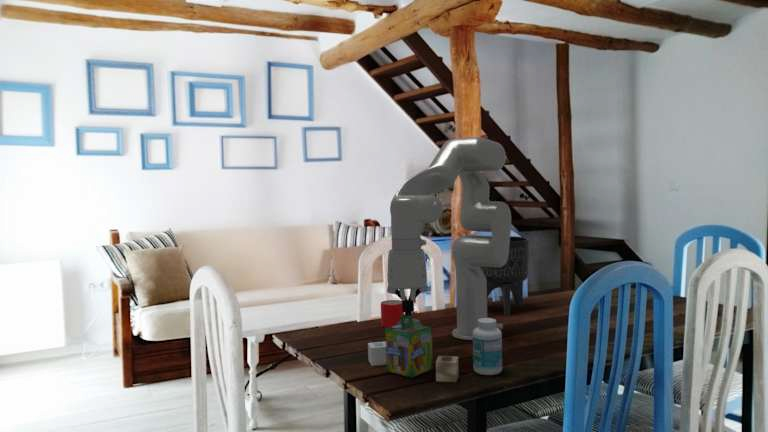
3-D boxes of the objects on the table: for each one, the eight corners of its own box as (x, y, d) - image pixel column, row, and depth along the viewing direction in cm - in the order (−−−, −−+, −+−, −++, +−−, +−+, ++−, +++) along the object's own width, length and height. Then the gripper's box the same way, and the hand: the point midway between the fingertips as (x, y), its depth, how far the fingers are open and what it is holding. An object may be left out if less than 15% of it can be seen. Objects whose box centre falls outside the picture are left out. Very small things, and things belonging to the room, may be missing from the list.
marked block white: (385, 358, 168) (385, 340, 167) (389, 364, 163) (389, 345, 163) (368, 360, 167) (367, 342, 166) (371, 366, 162) (370, 347, 162)
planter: (536, 315, 211) (535, 241, 209) (480, 317, 211) (478, 243, 209) (523, 303, 231) (522, 235, 229) (472, 304, 231) (471, 236, 229)
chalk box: (411, 379, 151) (410, 321, 150) (385, 371, 157) (383, 316, 156) (434, 369, 157) (433, 314, 156) (407, 362, 164) (406, 309, 163)
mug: (417, 322, 207) (416, 299, 207) (393, 329, 199) (392, 306, 198) (400, 318, 213) (399, 296, 212) (376, 325, 204) (375, 302, 204)
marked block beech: (458, 375, 152) (458, 355, 152) (456, 382, 147) (455, 362, 147) (439, 374, 153) (438, 354, 153) (436, 381, 149) (435, 361, 148)
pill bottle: (470, 367, 158) (469, 317, 157) (497, 365, 159) (496, 315, 158) (477, 377, 151) (476, 324, 150) (505, 375, 151) (505, 322, 150)
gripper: (433, 242, 159) (435, 310, 160) (377, 244, 158) (379, 312, 160) (436, 245, 151) (438, 317, 152) (377, 247, 151) (379, 319, 152)
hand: (408, 314), depth 156 cm, fingers closed
